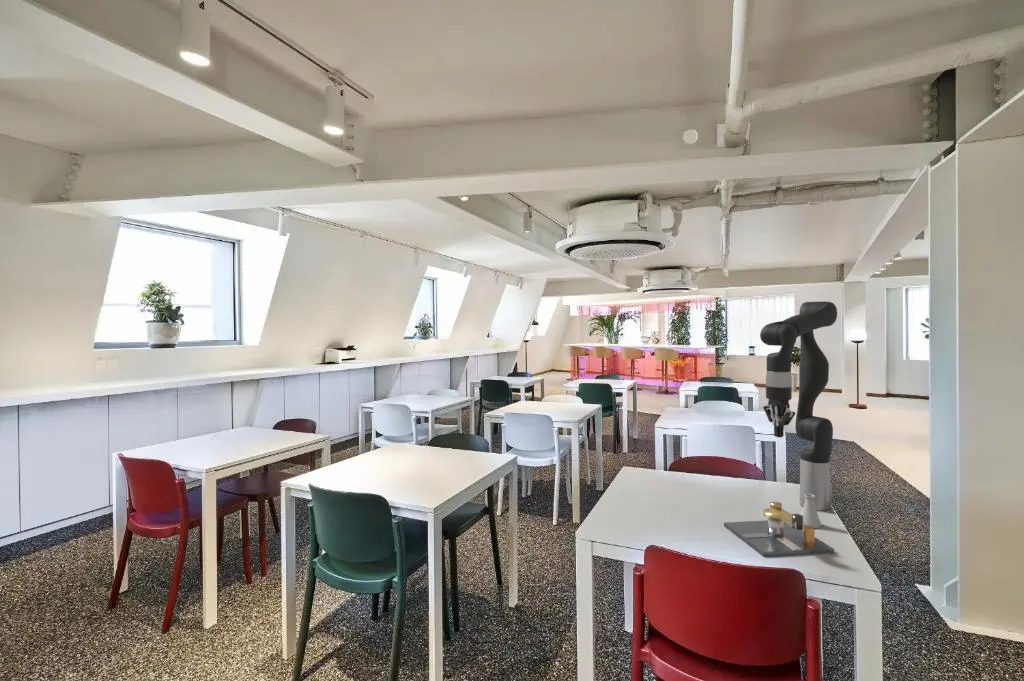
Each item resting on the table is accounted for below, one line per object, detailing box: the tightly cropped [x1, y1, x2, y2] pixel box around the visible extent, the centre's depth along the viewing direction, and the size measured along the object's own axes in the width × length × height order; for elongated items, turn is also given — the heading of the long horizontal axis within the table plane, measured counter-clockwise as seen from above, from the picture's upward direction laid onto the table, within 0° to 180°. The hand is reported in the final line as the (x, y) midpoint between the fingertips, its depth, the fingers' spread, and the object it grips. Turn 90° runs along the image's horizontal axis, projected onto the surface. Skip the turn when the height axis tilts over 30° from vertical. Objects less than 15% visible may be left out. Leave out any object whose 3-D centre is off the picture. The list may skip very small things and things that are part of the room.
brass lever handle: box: [762, 501, 804, 530], centre depth 152 cm, size 15×7×4 cm, turn 4°
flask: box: [799, 494, 823, 529], centre depth 167 cm, size 7×7×10 cm
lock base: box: [723, 517, 835, 558], centre depth 156 cm, size 22×22×7 cm
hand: (778, 436), depth 165 cm, fingers closed
